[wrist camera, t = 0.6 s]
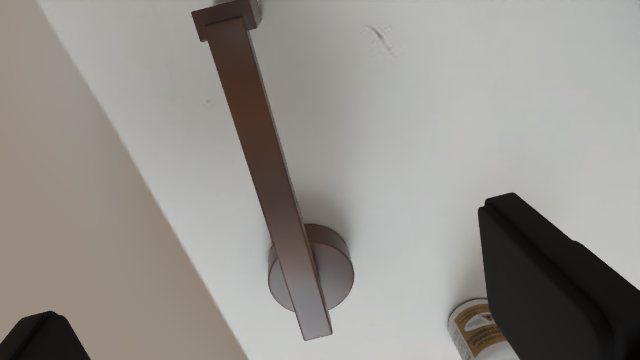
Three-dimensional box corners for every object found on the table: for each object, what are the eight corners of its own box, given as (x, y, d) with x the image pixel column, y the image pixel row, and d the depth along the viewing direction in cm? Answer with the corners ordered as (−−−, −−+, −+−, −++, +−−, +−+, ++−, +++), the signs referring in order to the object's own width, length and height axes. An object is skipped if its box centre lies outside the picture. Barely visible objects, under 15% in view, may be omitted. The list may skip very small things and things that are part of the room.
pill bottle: (501, 291, 33) (562, 372, 26) (501, 336, 35) (558, 422, 28) (444, 303, 33) (490, 387, 26) (447, 347, 35) (491, 436, 28)
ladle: (355, 281, 32) (378, 363, 25) (280, 300, 32) (281, 387, 25) (284, -12, 24) (288, -14, 17) (185, 14, 24) (146, 23, 17)
